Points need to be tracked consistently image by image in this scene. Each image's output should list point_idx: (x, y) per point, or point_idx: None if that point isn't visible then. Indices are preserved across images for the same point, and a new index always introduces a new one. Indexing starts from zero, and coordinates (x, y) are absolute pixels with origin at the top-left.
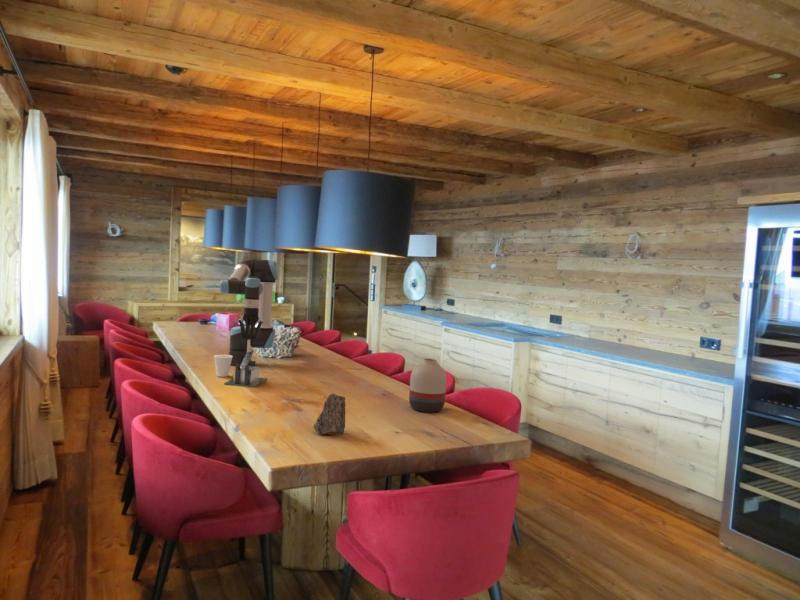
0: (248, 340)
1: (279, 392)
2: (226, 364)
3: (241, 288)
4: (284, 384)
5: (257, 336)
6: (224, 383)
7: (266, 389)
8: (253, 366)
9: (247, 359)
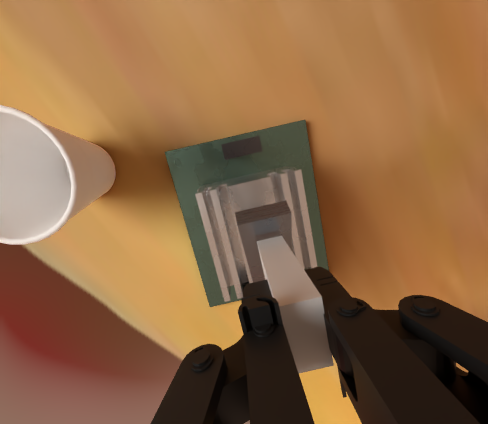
0: (304, 362)
1: (437, 293)
2: (89, 196)
3: None
4: (408, 164)
5: (470, 329)
6: (211, 306)
7: (380, 280)
8: (268, 182)
9: None
